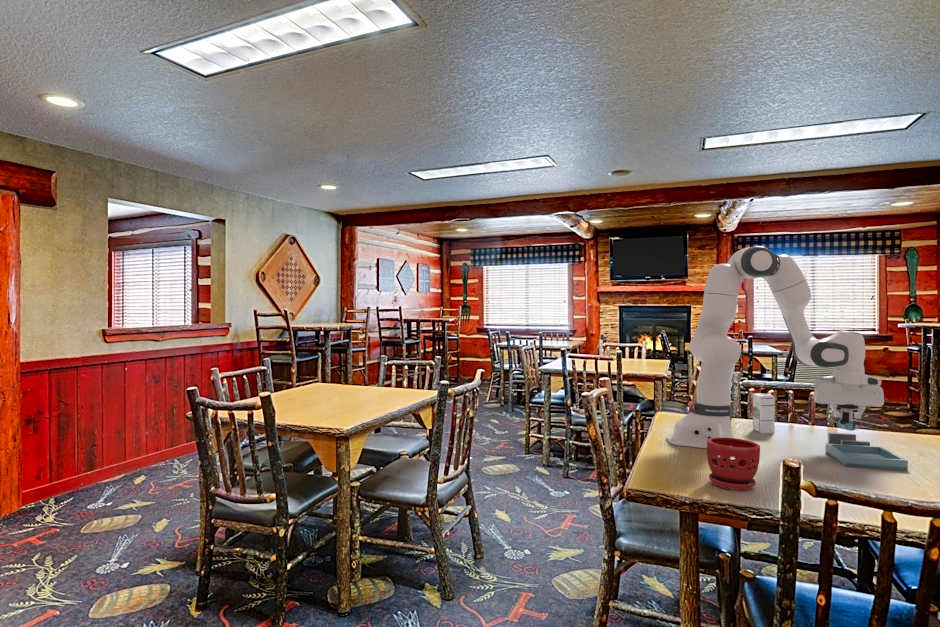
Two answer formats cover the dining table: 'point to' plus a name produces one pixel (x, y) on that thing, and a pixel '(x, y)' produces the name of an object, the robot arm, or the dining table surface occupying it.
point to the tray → (866, 457)
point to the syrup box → (763, 413)
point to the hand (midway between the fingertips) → (847, 417)
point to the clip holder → (845, 439)
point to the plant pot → (733, 462)
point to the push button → (847, 417)
